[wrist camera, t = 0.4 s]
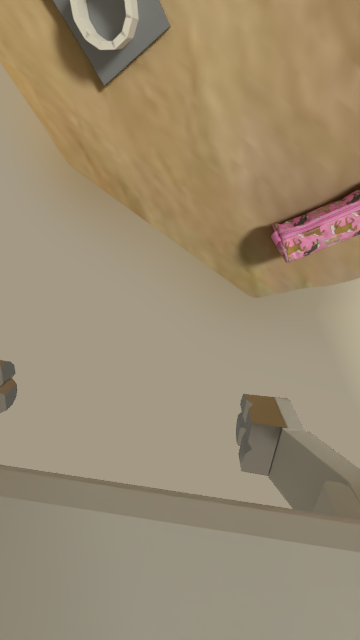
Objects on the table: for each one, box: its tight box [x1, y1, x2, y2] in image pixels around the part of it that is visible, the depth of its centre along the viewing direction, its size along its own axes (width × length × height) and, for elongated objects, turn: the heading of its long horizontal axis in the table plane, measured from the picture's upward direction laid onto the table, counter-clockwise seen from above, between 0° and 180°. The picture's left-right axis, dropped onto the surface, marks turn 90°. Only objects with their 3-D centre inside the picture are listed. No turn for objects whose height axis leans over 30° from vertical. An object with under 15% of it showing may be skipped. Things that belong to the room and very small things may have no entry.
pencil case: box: [271, 189, 360, 263], centre depth 52 cm, size 21×9×9 cm, turn 120°
